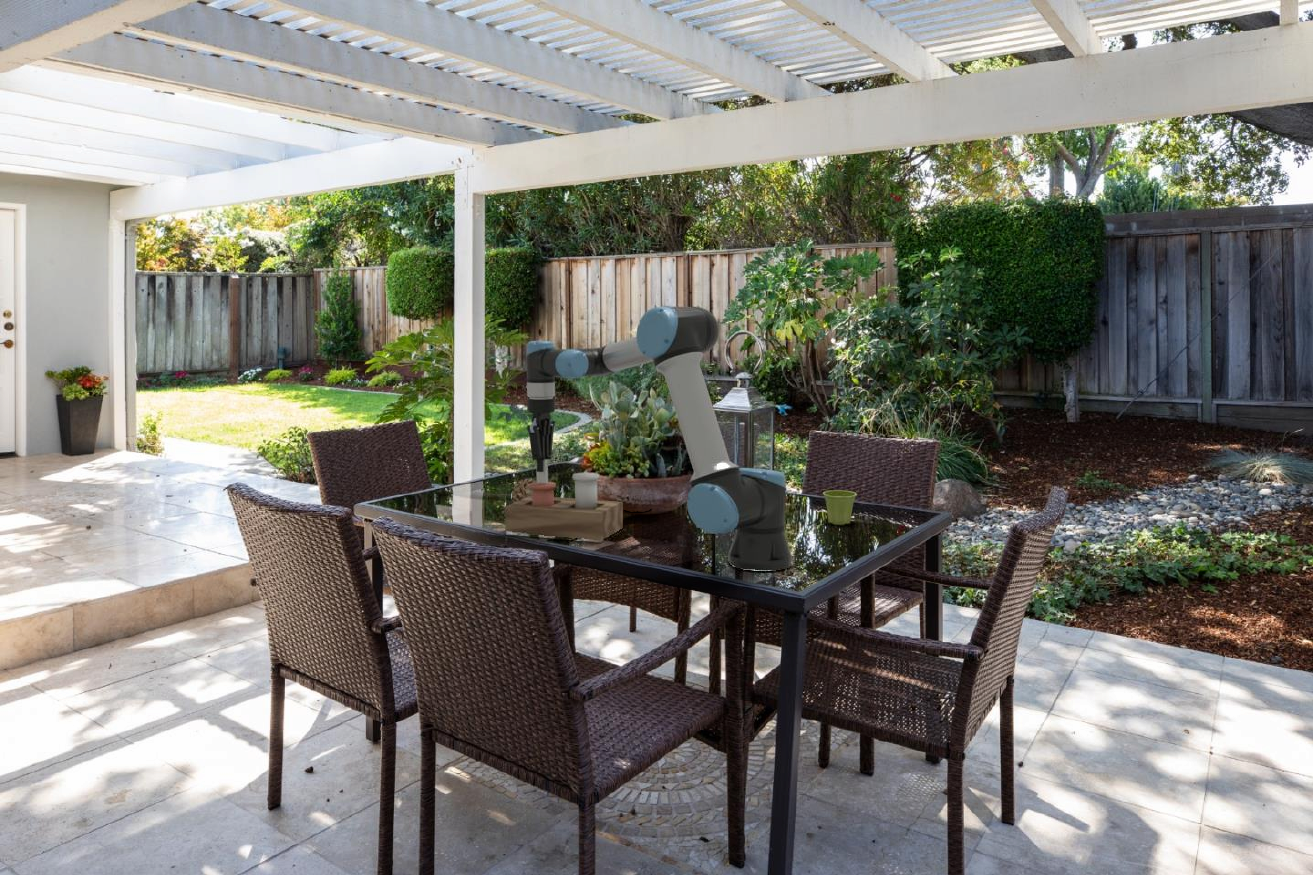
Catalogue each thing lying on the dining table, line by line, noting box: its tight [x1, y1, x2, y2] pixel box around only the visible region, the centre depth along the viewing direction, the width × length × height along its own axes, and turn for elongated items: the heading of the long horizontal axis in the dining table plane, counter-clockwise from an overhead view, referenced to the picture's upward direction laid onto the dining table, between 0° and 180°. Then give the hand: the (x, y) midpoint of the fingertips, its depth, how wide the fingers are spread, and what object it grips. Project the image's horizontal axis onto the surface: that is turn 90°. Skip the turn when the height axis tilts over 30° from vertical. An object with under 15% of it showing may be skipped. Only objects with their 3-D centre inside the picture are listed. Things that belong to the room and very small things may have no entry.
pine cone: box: [511, 477, 536, 503], centre depth 278 cm, size 22×10×10 cm, turn 8°
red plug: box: [530, 481, 557, 506], centre depth 255 cm, size 7×7×11 cm
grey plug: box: [572, 472, 600, 509], centre depth 251 cm, size 7×7×11 cm
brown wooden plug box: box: [504, 496, 624, 540], centre depth 253 cm, size 16×28×8 cm, turn 71°
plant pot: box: [822, 489, 857, 526], centre depth 265 cm, size 9×9×9 cm
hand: (542, 482), depth 254 cm, fingers closed
